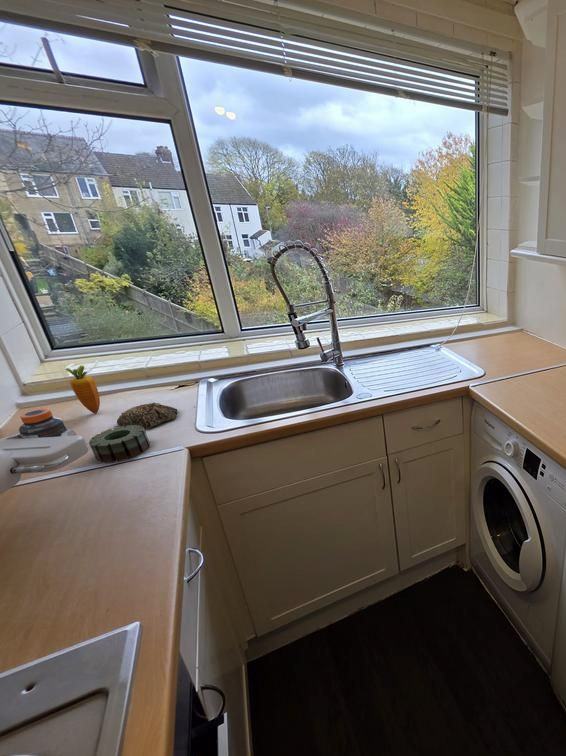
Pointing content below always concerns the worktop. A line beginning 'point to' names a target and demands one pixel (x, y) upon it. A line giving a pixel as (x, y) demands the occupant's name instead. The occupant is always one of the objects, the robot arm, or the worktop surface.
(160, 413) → the bread roll
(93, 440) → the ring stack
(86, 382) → the carrot
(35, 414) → the pill bottle
